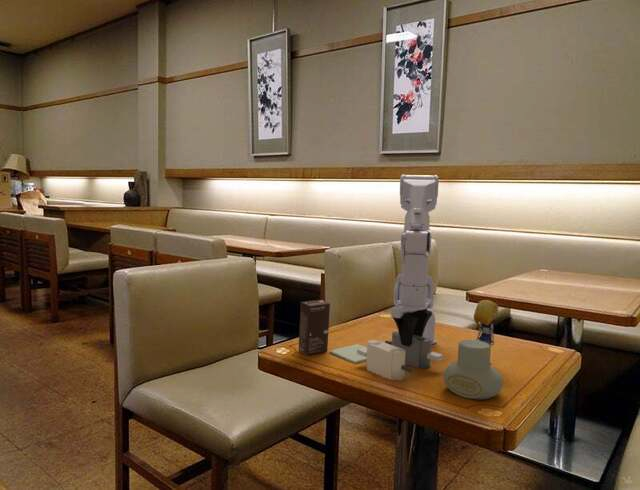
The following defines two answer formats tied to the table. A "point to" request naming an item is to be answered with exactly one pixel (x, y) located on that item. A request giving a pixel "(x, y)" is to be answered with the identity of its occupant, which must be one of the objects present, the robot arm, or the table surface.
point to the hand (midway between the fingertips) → (411, 343)
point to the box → (314, 326)
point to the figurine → (485, 320)
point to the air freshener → (473, 372)
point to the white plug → (385, 359)
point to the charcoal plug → (416, 350)
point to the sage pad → (350, 353)
